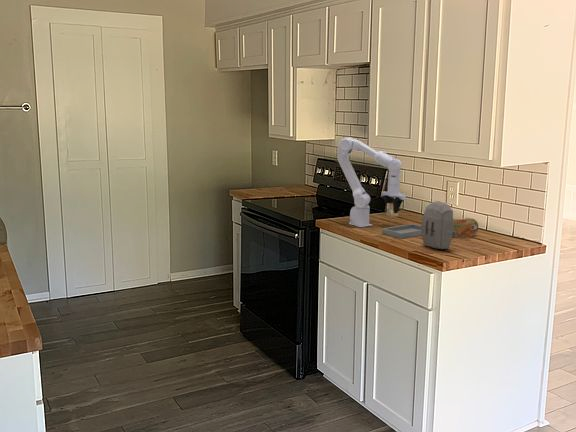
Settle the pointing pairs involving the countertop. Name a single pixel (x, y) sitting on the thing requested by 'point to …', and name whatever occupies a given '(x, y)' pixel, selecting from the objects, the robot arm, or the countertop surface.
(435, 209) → the grey rounded bag
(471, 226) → the tin
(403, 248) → the countertop surface
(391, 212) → the block
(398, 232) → the tray
